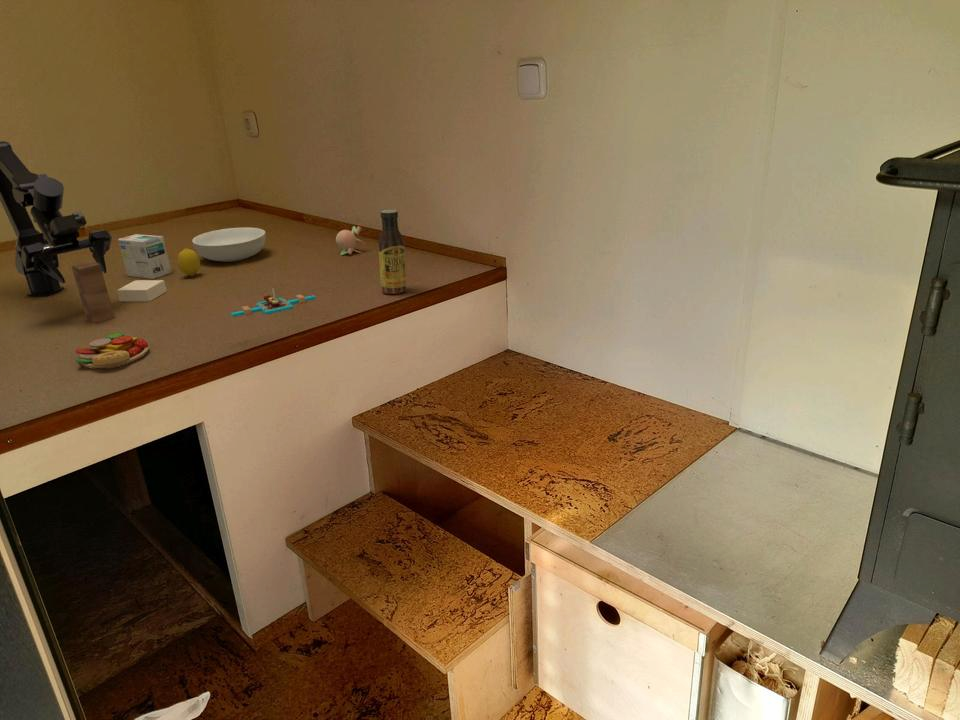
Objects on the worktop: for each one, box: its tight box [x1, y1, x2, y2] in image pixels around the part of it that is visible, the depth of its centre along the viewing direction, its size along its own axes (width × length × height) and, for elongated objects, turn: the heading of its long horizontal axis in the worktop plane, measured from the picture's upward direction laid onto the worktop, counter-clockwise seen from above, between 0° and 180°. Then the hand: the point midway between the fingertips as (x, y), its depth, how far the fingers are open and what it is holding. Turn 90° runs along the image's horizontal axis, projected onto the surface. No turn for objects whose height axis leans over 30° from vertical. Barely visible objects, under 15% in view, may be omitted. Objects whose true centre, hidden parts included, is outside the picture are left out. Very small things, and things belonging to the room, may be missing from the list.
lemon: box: [177, 247, 201, 277], centre depth 190 cm, size 6×6×8 cm
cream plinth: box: [116, 279, 167, 302], centre depth 176 cm, size 8×8×3 cm
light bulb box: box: [117, 233, 172, 280], centre depth 193 cm, size 11×7×11 cm, turn 65°
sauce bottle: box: [378, 209, 407, 295], centre depth 167 cm, size 7×6×20 cm
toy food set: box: [75, 332, 150, 369], centre depth 139 cm, size 13×13×3 cm
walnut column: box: [71, 260, 116, 324], centre depth 160 cm, size 4×4×13 cm
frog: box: [335, 225, 366, 256], centre depth 206 cm, size 10×8×8 cm
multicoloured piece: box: [230, 288, 317, 318], centre depth 164 cm, size 20×5×9 cm
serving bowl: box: [191, 227, 267, 263], centre depth 207 cm, size 21×21×7 cm
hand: (85, 277), depth 160 cm, fingers open, 9 cm apart
